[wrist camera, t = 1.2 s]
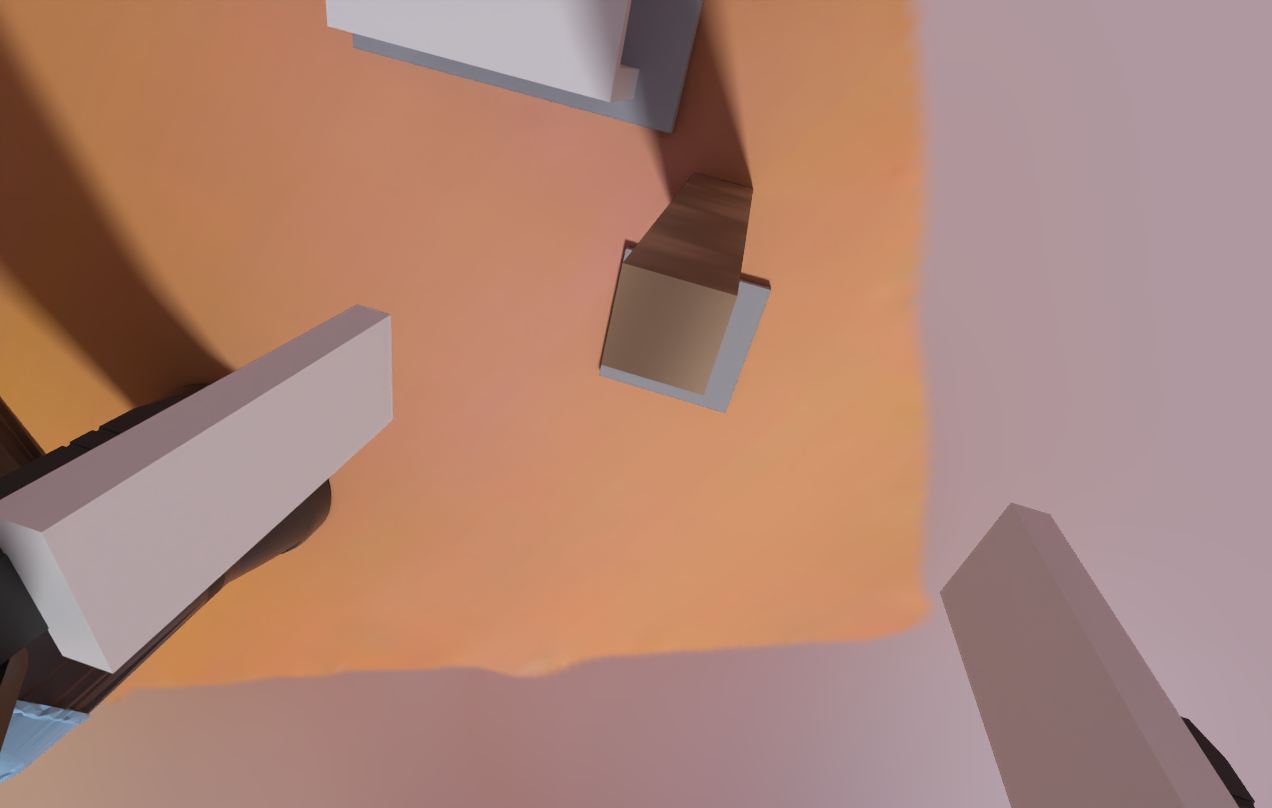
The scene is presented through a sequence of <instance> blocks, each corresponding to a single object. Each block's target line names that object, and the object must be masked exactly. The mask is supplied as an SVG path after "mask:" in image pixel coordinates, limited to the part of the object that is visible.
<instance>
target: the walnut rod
mask: <svg viewBox="0 0 1272 808" xmlns="http://www.w3.org/2000/svg"><path fill="white" fill-rule="evenodd" d="M752 193H753V188H749V187H746V186H742V185H738V184H735V183H731V182H727V181H724V180H720V179H716V178H713V177H709V176H706V175H702V174H698V173H694V174H693V175H692V176H691V178H690V179H689V180H688V181H687V183H686V184H685V185H684V186H683V188H682V189H681V190H680V191H679V193H678V194H677V195H676V196H675V198H674V199H673V200H672V201H671V203H670V204H669V205H668V206H667V208H666V209H665V210H664V212H663V213H662V214H661V215H660V217H659V218H658V219H657V220H656V222H655V223H654V224H653V225H652V227H651V228H650V229H649V230H648V232H647V233H646V234H645V235H644V237H643V238H642V239H641V240H640V242H639V243H638V244H637V245H636V247H635V248H634V249H633V250H632V252H631V253H630V254H629V255H628V257H627V258H626V259H625V260H624V262H623V263H622V268H621V273H620V277H619V282H618V287H617V292H616V296H615V301H614V306H613V310H612V315H611V320H610V325H609V329H608V334H607V339H606V343H605V348H604V353H603V358H602V362H601V365H604V366H607V367H610V368H614V369H617V370H620V371H624V372H627V373H630V374H634V375H637V376H640V377H644V378H647V379H650V380H654V381H657V382H660V383H664V384H667V385H670V386H674V387H677V388H680V389H684V390H687V391H690V392H694V393H697V394H700V395H704V393H705V390H706V387H707V384H708V381H709V378H710V376H711V373H712V370H713V367H714V364H715V361H716V358H717V355H718V352H719V349H720V346H721V343H722V340H723V337H724V334H725V331H726V328H727V325H728V322H729V319H730V316H731V313H732V311H733V308H734V305H735V302H736V299H737V295H738V289H739V282H740V275H741V268H742V261H743V254H744V248H745V241H746V234H747V227H748V220H749V213H750V207H751V200H752Z"/></svg>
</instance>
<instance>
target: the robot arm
mask: <svg viewBox="0 0 1272 808" xmlns="http://www.w3.org/2000/svg"><path fill="white" fill-rule="evenodd" d="M392 420H393V400H392V349H391V315H390V314H387V313H384V312H381V311H377V310H374V309H371V308H367V307H364V306H361V305H355V306H353V307H351V308H350V309H348V310H346V311H344V312H342V313H341V314H339V315H337V316H335V317H333V318H331V319H330V320H328V321H326V322H324V323H322V324H320V325H319V326H317V327H315V328H313V329H311V330H309V331H308V332H306V333H304V334H302V335H300V336H299V337H297V338H295V339H293V340H291V341H289V342H288V343H286V344H284V345H282V346H280V347H278V348H277V349H275V350H273V351H271V352H269V353H268V354H266V355H264V356H262V357H260V358H258V359H257V360H255V361H253V362H251V363H249V364H247V365H246V366H244V367H242V368H240V369H238V370H236V371H235V372H233V373H231V374H229V375H227V376H226V377H224V378H222V379H220V380H218V381H216V382H215V383H213V384H211V385H205V384H195V385H188V386H184V387H181V388H179V389H176V390H174V391H173V392H171V393H169V394H167V395H165V396H163V397H161V398H159V399H157V400H156V401H154V402H152V403H151V404H148V405H144V406H141V407H138V408H134V409H132V410H130V411H128V412H126V413H125V414H123V415H121V416H119V417H117V418H115V419H113V420H111V421H109V422H107V423H105V424H103V425H101V426H100V427H99V430H98V431H93V430H92V431H90V432H88V433H86V434H84V435H82V436H80V437H78V438H76V439H74V440H73V441H71V442H70V445H69V446H67V447H65V446H61V447H59V448H57V449H55V450H53V451H51V452H49V453H48V454H46V453H45V452H44V450H43V449H42V448H41V447H40V446H39V444H38V443H37V442H36V441H35V439H34V438H33V437H32V436H31V434H30V433H29V432H28V431H27V429H26V428H25V427H24V426H23V424H22V423H21V422H20V421H19V419H18V418H17V417H16V416H15V414H14V413H13V412H12V411H11V409H10V408H9V407H8V406H7V404H6V403H5V402H4V401H3V399H2V398H1V397H0V783H1V782H3V781H6V780H8V779H9V778H12V777H13V776H15V775H16V774H18V773H19V772H21V771H22V770H24V769H25V768H26V767H27V766H29V765H30V764H31V763H32V762H33V761H34V760H36V759H37V758H38V757H39V756H41V755H42V754H43V753H44V752H45V751H47V750H48V749H49V748H50V747H51V746H53V745H54V744H55V743H56V742H57V741H59V740H60V739H61V738H62V737H63V736H65V735H66V734H67V733H68V732H69V731H71V730H72V729H73V728H74V727H76V726H77V725H78V724H81V723H82V722H84V721H85V720H87V718H88V717H89V716H90V715H89V713H90V712H91V711H92V710H93V709H94V708H95V707H96V706H98V705H99V704H100V703H101V702H102V701H103V700H104V699H105V698H106V697H107V696H108V695H109V694H110V693H111V692H112V691H113V690H114V689H116V688H117V687H118V686H119V685H120V684H121V683H122V682H123V681H124V680H125V679H126V678H127V677H128V676H129V675H130V674H131V673H132V672H134V671H135V670H136V669H137V668H138V667H139V666H140V665H141V664H142V663H143V662H144V661H145V660H146V659H147V658H148V657H149V656H150V655H152V654H153V653H154V652H155V651H156V650H157V649H158V648H159V647H160V646H161V645H162V644H163V643H164V642H165V641H166V640H167V639H168V638H170V637H171V636H172V635H173V634H174V633H175V632H176V631H177V630H178V629H179V628H180V627H181V626H182V625H183V624H184V623H185V622H186V621H188V620H189V619H190V618H191V617H192V616H193V615H194V614H195V613H196V612H197V611H198V610H199V609H200V608H201V607H202V606H203V605H205V604H206V603H207V602H208V601H209V600H210V599H211V598H212V597H213V596H214V595H215V594H216V593H217V592H219V591H220V590H221V589H222V588H223V587H224V586H225V585H226V584H228V583H229V582H231V581H232V580H234V579H236V578H238V577H240V576H242V575H244V574H245V573H247V572H249V571H251V570H253V569H255V568H257V567H258V566H260V565H262V564H264V563H266V562H267V561H269V560H271V559H273V558H274V557H276V556H278V555H279V554H283V553H285V552H288V551H290V550H292V549H294V548H296V547H298V546H299V545H300V544H302V543H303V542H304V541H306V540H307V539H308V538H309V537H310V536H311V535H312V534H313V533H314V532H315V531H316V530H317V529H318V528H319V527H320V526H321V525H322V524H323V522H324V521H325V520H326V518H327V516H328V513H329V510H330V505H331V494H330V488H329V483H328V480H327V479H328V478H329V477H330V476H332V475H333V474H334V473H335V472H336V471H337V470H338V469H339V468H340V467H342V466H343V465H344V464H345V463H346V462H347V461H348V460H349V459H350V458H351V457H353V456H354V455H355V454H356V453H357V452H358V451H359V450H360V449H361V448H362V447H364V446H365V445H366V444H367V443H368V442H369V441H370V440H371V439H372V438H373V437H375V436H376V435H377V434H378V433H379V432H380V431H381V430H382V429H383V428H385V427H386V426H387V425H388V424H389V423H390V422H391V421H392ZM940 594H941V597H942V600H943V603H944V606H945V609H946V612H947V615H948V618H949V621H950V624H951V627H952V630H953V633H954V636H955V639H956V642H957V645H958V648H959V651H960V654H961V657H962V660H963V663H964V666H965V669H966V672H967V675H968V678H969V681H970V684H971V687H972V690H973V693H974V696H975V699H976V702H977V705H978V708H979V711H980V714H981V717H982V720H983V723H984V726H985V729H986V732H987V735H988V738H989V741H990V744H991V747H992V750H993V753H994V756H995V759H996V762H997V765H998V768H999V771H1000V774H1001V777H1002V780H1003V783H1004V786H1005V789H1006V792H1007V795H1008V798H1009V801H1010V804H1011V807H1012V808H1255V807H1254V802H1255V801H1254V800H1253V798H1252V797H1251V795H1250V794H1249V792H1248V791H1247V790H1246V788H1245V786H1244V785H1243V783H1242V782H1241V780H1240V779H1239V777H1238V776H1237V774H1236V773H1235V771H1234V770H1233V768H1232V767H1231V765H1230V764H1229V763H1228V761H1227V760H1226V758H1225V757H1224V756H1223V755H1222V754H1221V753H1220V752H1219V751H1218V750H1217V749H1216V748H1215V747H1214V746H1213V745H1212V744H1211V742H1210V741H1209V740H1208V739H1207V738H1206V737H1205V736H1204V735H1203V734H1202V733H1201V732H1200V731H1199V730H1198V729H1197V728H1196V727H1195V726H1194V725H1193V723H1192V722H1191V721H1190V720H1189V719H1186V718H1183V717H1180V715H1179V714H1178V712H1177V711H1176V709H1175V708H1174V706H1173V704H1172V703H1171V701H1170V700H1169V698H1168V697H1167V695H1166V694H1165V692H1164V690H1163V689H1162V688H1161V686H1160V685H1159V683H1158V681H1157V680H1156V678H1155V676H1154V675H1153V673H1152V672H1151V670H1150V669H1149V667H1148V666H1147V664H1146V663H1145V661H1144V659H1143V658H1142V656H1141V655H1140V653H1139V652H1138V650H1137V649H1136V647H1135V645H1134V644H1133V642H1132V641H1131V639H1130V638H1129V636H1128V635H1127V633H1126V631H1125V630H1124V628H1123V627H1122V625H1121V624H1120V622H1119V621H1118V619H1117V618H1116V616H1115V614H1114V613H1113V611H1112V610H1111V608H1110V607H1109V605H1108V604H1107V602H1106V600H1105V599H1104V597H1103V596H1102V594H1101V593H1100V591H1099V590H1098V588H1097V587H1096V585H1095V584H1094V582H1093V580H1092V579H1091V577H1090V576H1089V574H1088V573H1087V571H1086V569H1085V568H1084V567H1083V565H1082V563H1081V562H1080V560H1079V559H1078V557H1077V555H1076V554H1075V552H1074V551H1073V549H1072V548H1071V546H1070V545H1069V543H1068V542H1067V540H1066V539H1065V537H1064V536H1063V534H1062V532H1061V531H1060V529H1059V528H1058V526H1057V524H1056V523H1055V521H1054V520H1053V518H1052V517H1051V515H1050V514H1047V513H1044V512H1040V511H1037V510H1034V509H1030V508H1027V507H1024V506H1020V505H1017V504H1014V503H1010V505H1009V506H1008V507H1007V509H1006V510H1005V511H1004V512H1003V514H1002V515H1001V516H1000V517H999V519H998V520H997V521H996V522H995V524H994V525H993V526H992V527H991V529H990V530H989V531H988V532H987V534H986V535H985V536H984V537H983V539H982V540H981V541H980V542H979V544H978V545H977V546H976V548H975V549H974V550H973V551H972V552H971V554H970V555H969V556H968V558H967V559H966V560H965V561H964V563H963V564H962V565H961V566H960V568H959V569H958V570H957V571H956V573H955V574H954V575H953V576H952V578H951V579H950V580H949V582H948V583H947V584H946V585H945V587H944V588H943V589H942V590H941V591H940Z"/></svg>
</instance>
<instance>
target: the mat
mask: <svg viewBox="0 0 1272 808" xmlns="http://www.w3.org/2000/svg"><path fill="white" fill-rule="evenodd" d="M632 250H633V248H630V247H627V248H626V251H625V256H624V260H625V259H626V258H627V257H628V255H629V254H630V253H631V252H632ZM624 260H623V262H624ZM770 291H771V288H770V287H767V286H763V285H760V284H756V283H753V282H749V281H746V280H742V279H740V282H739V289H738V295H737V299H736V302H735V305H734V308H733V311H732V313H731V316H730V319H729V322H728V325H727V328H726V331H725V334H724V337H723V340H722V343H721V346H720V349H719V352H718V355H717V358H716V361H715V364H714V367H713V370H712V373H711V376H710V378H709V381H708V384H707V387H706V390H705V393H704V395H700V394H697V393H694V392H690V391H687V390H684V389H680V388H677V387H674V386H670V385H667V384H664V383H660V382H657V381H654V380H650V379H647V378H644V377H640V376H637V375H634V374H630V373H627V372H624V371H620V370H617V369H614V368H610V367H607V366H604V365H601V369H600V373H599V375H600V376H603V377H606V378H610V379H613V380H616V381H620V382H623V383H626V384H630V385H633V386H636V387H640V388H643V389H646V390H650V391H653V392H656V393H660V394H663V395H666V396H670V397H673V398H676V399H679V400H683V401H686V402H689V403H693V404H696V405H699V406H703V407H706V408H709V409H713V410H716V411H719V412H723V413H726V410H727V407H728V405H729V402H730V399H731V396H732V394H733V391H734V388H735V386H736V383H737V380H738V378H739V375H740V372H741V370H742V367H743V364H744V361H745V359H746V356H747V353H748V351H749V348H750V345H751V343H752V340H753V337H754V334H755V332H756V329H757V326H758V324H759V321H760V318H761V316H762V313H763V310H764V307H765V305H766V302H767V299H768V297H769V294H770Z"/></svg>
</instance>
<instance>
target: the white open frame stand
mask: <svg viewBox="0 0 1272 808" xmlns="http://www.w3.org/2000/svg"><path fill="white" fill-rule="evenodd" d="M703 1H704V0H326V12H327V26H329V27H333V28H336V29H340V30H344V31H347V32H351V33H353V48H356V49H360V50H364V51H368V52H371V53H375V54H379V55H382V56H386V57H390V58H393V59H397V60H401V61H404V62H408V63H412V64H415V65H419V66H423V67H426V68H430V69H434V70H437V71H441V72H445V73H449V74H452V75H456V76H460V77H463V78H467V79H471V80H474V81H478V82H482V83H485V84H489V85H493V86H496V87H500V88H504V89H507V90H511V91H515V92H518V93H522V94H526V95H529V96H533V97H537V98H541V99H544V100H548V101H552V102H555V103H559V104H563V105H566V106H570V107H574V108H577V109H581V110H585V111H588V112H592V113H596V114H599V115H603V116H607V117H610V118H614V119H618V120H621V121H625V122H629V123H633V124H636V125H640V126H644V127H647V128H651V129H655V130H658V131H662V132H666V133H669V134H670V133H672V132H673V130H674V126H675V122H676V117H677V113H678V109H679V104H680V100H681V96H682V92H683V87H684V83H685V79H686V74H687V70H688V66H689V61H690V57H691V53H692V48H693V44H694V40H695V36H696V31H697V27H698V23H699V18H700V14H701V10H702V5H703Z"/></svg>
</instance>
